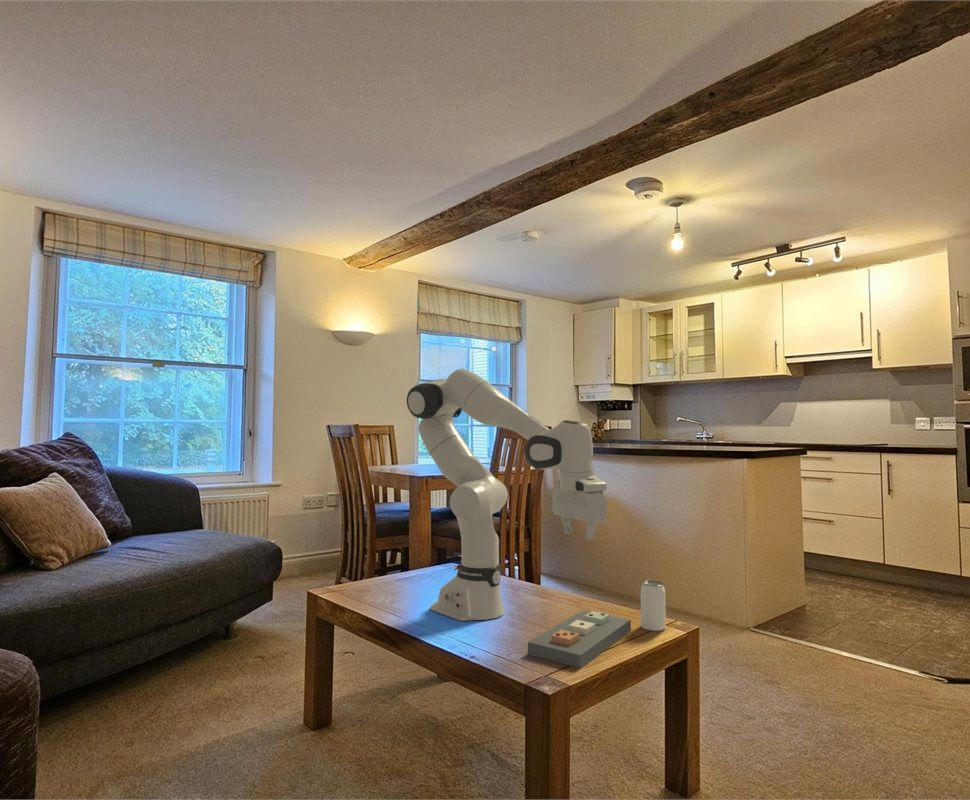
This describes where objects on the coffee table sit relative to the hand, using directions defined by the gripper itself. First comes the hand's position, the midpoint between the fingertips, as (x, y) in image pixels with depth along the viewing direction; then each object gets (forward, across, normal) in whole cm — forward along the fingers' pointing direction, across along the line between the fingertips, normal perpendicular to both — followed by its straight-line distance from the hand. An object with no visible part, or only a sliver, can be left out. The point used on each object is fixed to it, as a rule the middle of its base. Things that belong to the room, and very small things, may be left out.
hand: (578, 536), depth 152 cm
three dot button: (+25, +6, -9) cm, 27 cm away
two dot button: (+25, -3, +7) cm, 26 cm away
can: (+27, +1, +23) cm, 36 cm away
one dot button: (+25, +1, -1) cm, 25 cm away
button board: (+26, +1, -1) cm, 27 cm away
